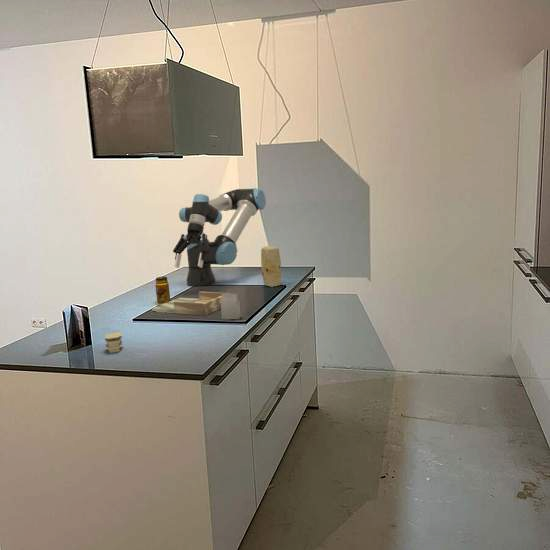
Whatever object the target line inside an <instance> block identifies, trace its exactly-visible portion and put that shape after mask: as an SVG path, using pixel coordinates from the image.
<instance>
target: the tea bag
mask: <svg viewBox="0 0 550 550" xmlns="http://www.w3.org/2000/svg"><path fill="white" fill-rule="evenodd" d="M220 310H221V311H220V312H221V320H230V319H238V320H240V319H241V318H242V315H241V303H240V300H239V296H238V294H237V293H230V294H222V299H221V309H220ZM240 317H241V318H240Z"/></svg>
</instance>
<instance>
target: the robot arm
mask: <svg viewBox="0 0 550 550" xmlns="http://www.w3.org/2000/svg"><path fill="white" fill-rule="evenodd" d="M265 207H266V196H265V192H264V191H263V189H261V188H256V187H254V188H238V189H233V190H230V191H227V192H224V193H221V194H220V195H219V196H218V197H216V198H214V199H210V197H209V196H208V195H206V194H203V193H196V194H194V196H193V200H192V204H191V206H189V207H188V206H185V207H181V208H180V210H179V213H178V217H179V220H180V221H181V222H183V223H188V225H187V234H184V233H182V234H181V235H180V238H179V240H178V242H177V244H176V245H175V247H174V248H173V250H172V252H173V253H175V257H174V260H175V262H174V267H176V268H178V269H179V268H180V266H181V260H182V253H184V251H185V250H186V253H187V254H186V255H187V262H188V273H187V276H186V277H187V278H186V286H190V287H200V286H201V287H203V286H209V285H213V284H215V283H216V277H215V274H214V273H213V270H212V267H211V266H212V265H221V266H226V265H230V264H232V263H234V262H235V260H236V259H237V255H238V254H237V253H238V247H237V242H238V240H239V238H240V237H241V235H242V233H243V231H244V230H245V228H246V226H247V224H248V222H249V221H250V219H251V217H253V216H255V215H256V214H257V212H258V211H261V210H264V208H265ZM234 210H235V211H234ZM223 211H224V212H227V211H234V212H233V215H232V217H231V218H230V220H229V222H228V223H227V225H226V226H225V228H224V230H223V231H222V233H221V234H219V235H217V236H216V238H215V239H214V241H210V240H209V238H208V235H207V234H206V233H205V232H204V229H205V224H206V223H209V224H210V225H215V226H216V225H219V224H220V223H221V221H222V219H223V214H222V212H223Z"/></svg>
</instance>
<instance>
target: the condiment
mask: <svg viewBox="0 0 550 550" xmlns="http://www.w3.org/2000/svg"><path fill="white" fill-rule="evenodd" d="M154 286H155V294H156V300H155V301H154V302H155V303H156V305H157V306H159V305H162V304H164V303H167V302H170V301H172V300H173V299H172V298H171V294H170V285H169V282H168V277H167V276H165V275H164V276H158V277H155V285H154Z"/></svg>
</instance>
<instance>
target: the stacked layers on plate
mask: <svg viewBox="0 0 550 550" xmlns="http://www.w3.org/2000/svg"><path fill="white" fill-rule="evenodd" d="M122 334H123V333H122V332H121V331H120V332H119V331H118V332H112V333H111V332H110V333H107V334H104V337H105V338H104V341H105V343H106V344H105V347H106V350H107V351H109V353H110V354H112V353H113V354H114V353H119V352H120V350H121V349H120V348H121V347H122V346H123V343H124V342H123V341H122V339H123V336H122Z"/></svg>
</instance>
